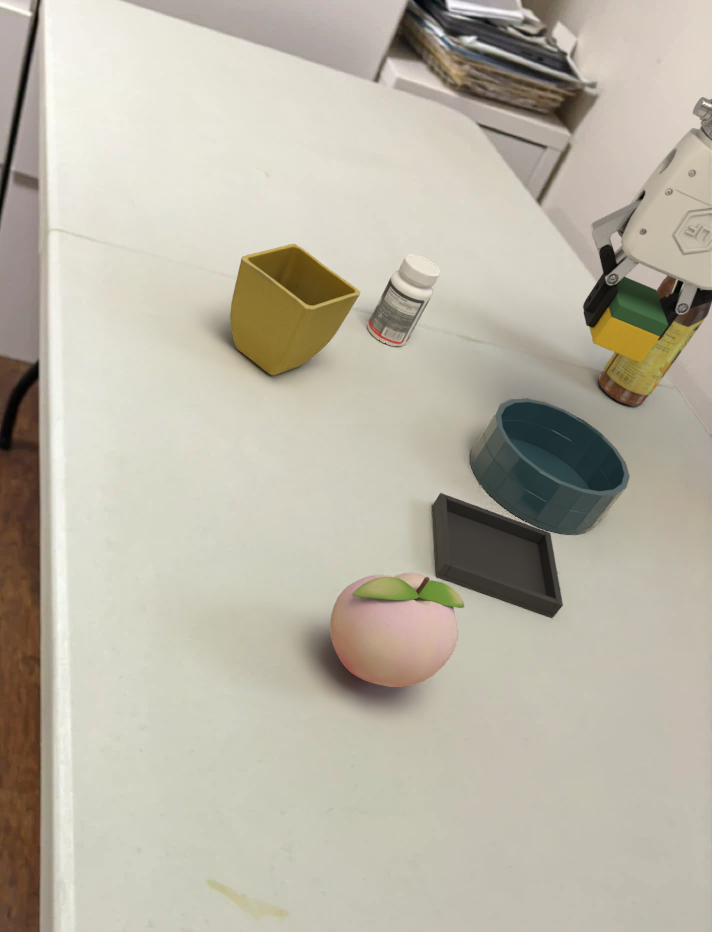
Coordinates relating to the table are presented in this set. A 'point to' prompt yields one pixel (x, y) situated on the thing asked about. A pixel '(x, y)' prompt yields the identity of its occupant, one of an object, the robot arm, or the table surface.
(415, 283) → the pill bottle
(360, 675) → the decorative fruit
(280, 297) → the flower pot
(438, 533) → the sponge tray
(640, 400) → the sauce bottle
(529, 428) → the bowl
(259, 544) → the table surface
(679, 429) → the table surface
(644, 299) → the sponge
